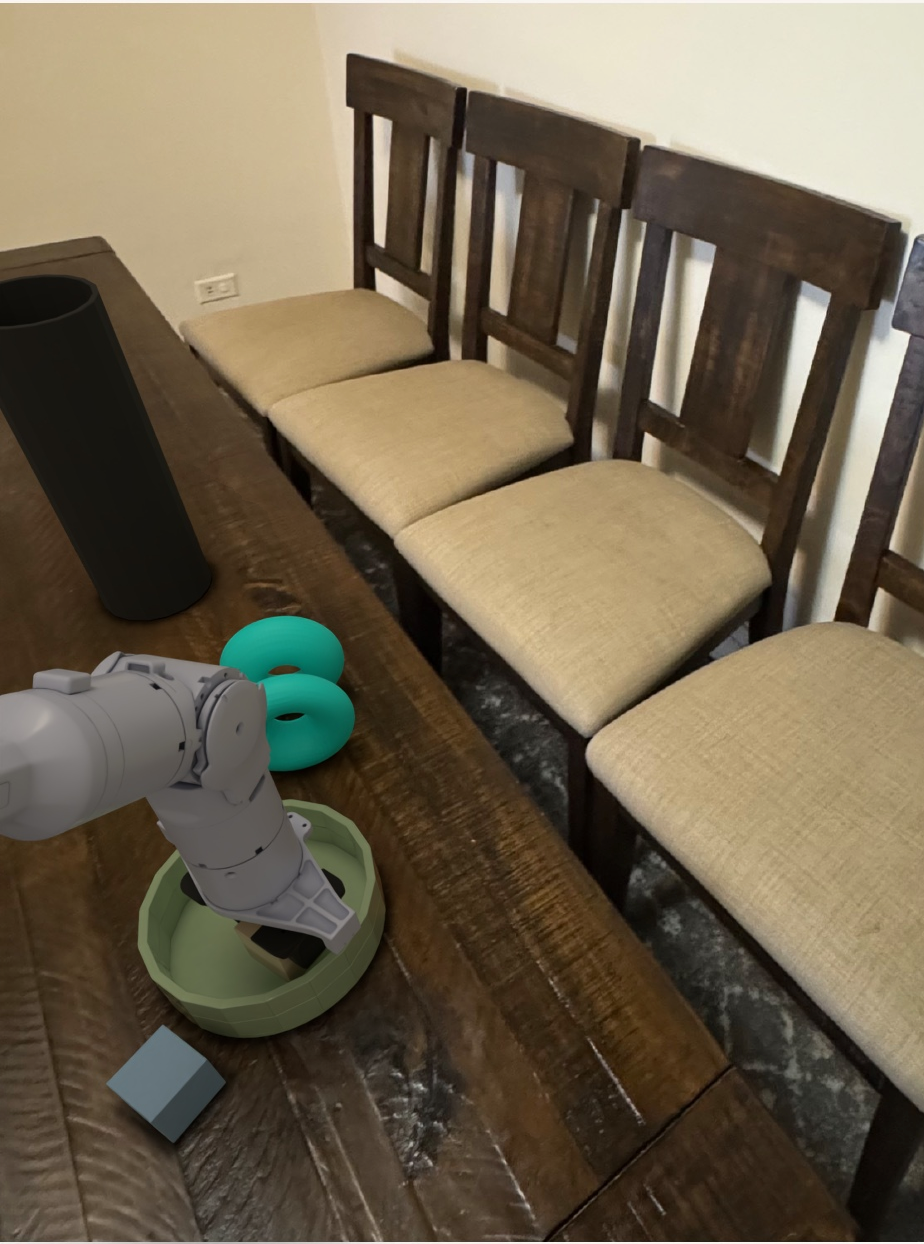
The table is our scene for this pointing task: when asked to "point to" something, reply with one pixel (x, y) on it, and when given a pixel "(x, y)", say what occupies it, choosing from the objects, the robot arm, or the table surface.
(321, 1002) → the green shallow bowl
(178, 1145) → the table surface
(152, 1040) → the blue block
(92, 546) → the vase
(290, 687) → the donuts
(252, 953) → the brown block
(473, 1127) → the table surface
